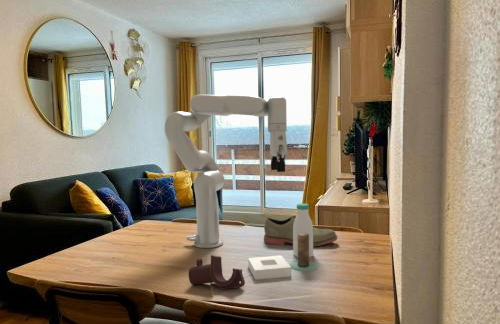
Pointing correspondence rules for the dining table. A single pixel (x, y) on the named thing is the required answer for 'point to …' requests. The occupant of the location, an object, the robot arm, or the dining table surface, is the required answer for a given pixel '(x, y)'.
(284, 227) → the oxford shoe
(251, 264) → the pocket block
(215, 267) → the bracket
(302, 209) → the milk bottle
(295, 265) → the felt pad
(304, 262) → the walnut dowel
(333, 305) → the dining table surface
